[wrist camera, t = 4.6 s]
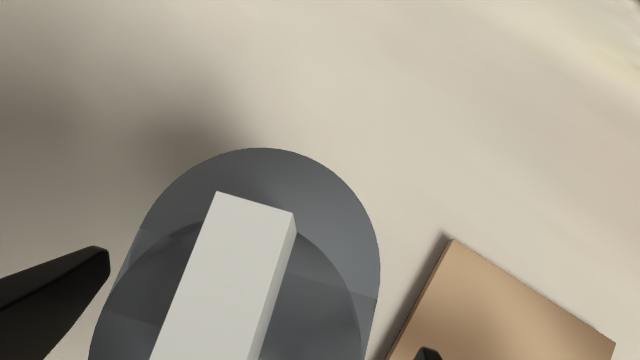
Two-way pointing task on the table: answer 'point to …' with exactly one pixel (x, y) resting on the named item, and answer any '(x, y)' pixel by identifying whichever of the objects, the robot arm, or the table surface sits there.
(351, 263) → the grey tall rounded piece
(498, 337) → the cork pad
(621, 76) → the table surface
